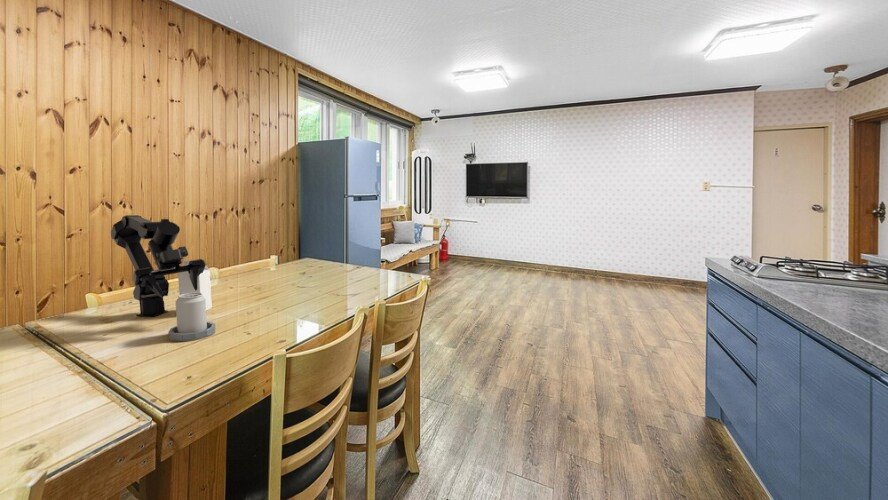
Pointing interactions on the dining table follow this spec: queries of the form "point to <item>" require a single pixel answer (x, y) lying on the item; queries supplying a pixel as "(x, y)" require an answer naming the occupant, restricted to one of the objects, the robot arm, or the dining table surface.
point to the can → (191, 313)
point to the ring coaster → (192, 336)
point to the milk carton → (202, 284)
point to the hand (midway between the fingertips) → (180, 293)
